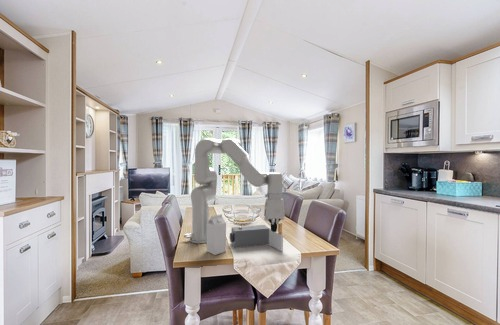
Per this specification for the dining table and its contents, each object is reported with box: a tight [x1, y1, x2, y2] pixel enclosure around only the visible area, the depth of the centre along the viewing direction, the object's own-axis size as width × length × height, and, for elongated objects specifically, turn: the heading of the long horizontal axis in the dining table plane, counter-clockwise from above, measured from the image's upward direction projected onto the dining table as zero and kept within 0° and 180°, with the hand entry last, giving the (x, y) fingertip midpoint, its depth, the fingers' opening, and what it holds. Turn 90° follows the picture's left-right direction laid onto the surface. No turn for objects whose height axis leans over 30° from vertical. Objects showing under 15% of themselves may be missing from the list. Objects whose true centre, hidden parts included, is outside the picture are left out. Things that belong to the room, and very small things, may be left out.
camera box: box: [229, 224, 271, 249], centre depth 151 cm, size 22×8×10 cm, turn 109°
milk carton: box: [206, 213, 227, 256], centre depth 138 cm, size 7×7×19 cm
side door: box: [268, 222, 284, 252], centre depth 145 cm, size 12×2×14 cm, turn 27°
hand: (273, 231), depth 140 cm, fingers closed
